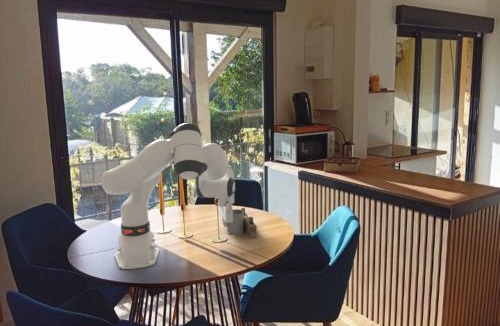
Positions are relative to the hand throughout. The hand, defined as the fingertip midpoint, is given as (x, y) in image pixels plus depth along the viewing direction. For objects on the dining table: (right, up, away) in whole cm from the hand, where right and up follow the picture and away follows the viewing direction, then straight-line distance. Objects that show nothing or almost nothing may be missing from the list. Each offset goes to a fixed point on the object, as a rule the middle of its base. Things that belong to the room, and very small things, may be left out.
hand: (225, 226), depth 198 cm
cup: (+5, -3, +2) cm, 6 cm away
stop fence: (+11, -2, +3) cm, 11 cm away
